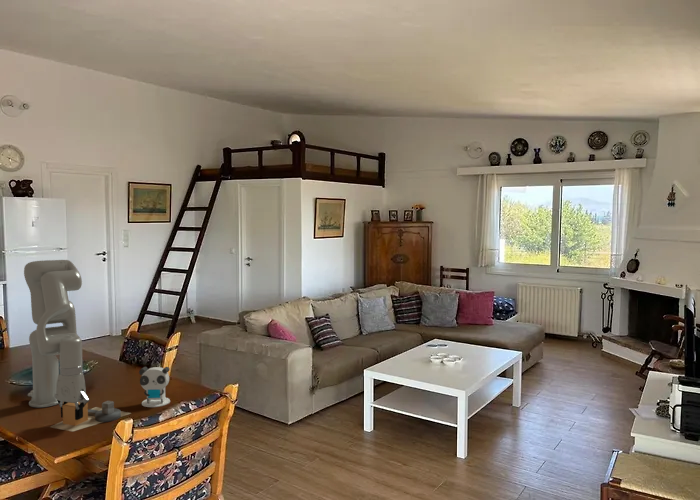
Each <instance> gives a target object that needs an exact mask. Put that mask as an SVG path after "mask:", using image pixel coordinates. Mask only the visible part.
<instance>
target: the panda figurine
mask: <svg viewBox="0 0 700 500" xmlns="http://www.w3.org/2000/svg"><path fill="white" fill-rule="evenodd" d="M169 372H170V367H169V366H166V367H160V366H159V367H158V366H157V367H156V366H154V367H150V368H148V367H147V366H143V367H142V368H140V369H139V371H138V374H139V375H140V376H141V377H140V379H139V384H140V386H141V387H142V389H144V391H143V393H144V395H145V396H146V399H144V400H143V401H142V402H141V406H143V407H145V408H146V407H147V408H159V407H163V406H166V405H169V404H170V403H171V400H170V399H171V398H169V397H166V387H167V386H168V385H169V382H170V376H169Z"/></svg>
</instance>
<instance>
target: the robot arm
mask: <svg viewBox="0 0 700 500" xmlns="http://www.w3.org/2000/svg"><path fill="white" fill-rule="evenodd" d="M23 275H24V279H25V282H26V285H27V288H29V289H28V290H29V292H30V293H29V294H30V305H31V306H30V307H31V318H32V321H33V323H34V324H35V325H36V329H35V330H33V331H32V332H30V334H29V337H28V342H29V346H30V351H31V359H32V362H31V364H32V365H31V366H32V390H30V392H28V393H27V396H28V397H31V399H30V400H29V402H28V405H29V407H31V408H48V407H52V406H56V405H59V407H60V418H62V419H63V408H62V405H65V404H67V403H75V406H76V410H75V420H79V419H81V418H83V407H84V406H85V405H86V403H87V402H88V403H89V402H90V398H89V397H88V395H87V393H86V392H87V391H86V381H85V376H84V373H83V341H82V339H81V337H80V335H79V334H77V320H76V319H77V318H76V309H75V305H74V304H73V302H72V301H71V300H70V299H69V294H68V292H71V291H72V292H73V291H78V290H80V289H81V288H82V285H83V283H82V282H83V281H82V275H81V273H80V271H79V270H78V268H77V267H76V265H74V263H73V262H72V261H71V260H69V259H49V260H48V259H47V260H35V261H34V260H33V261H29V262H28V263H26V264H25V265H24V269H23ZM54 324H62V325H58V326H49V327H47V325H54ZM58 355H59V359H58V357H57V356H58ZM78 402H80V405H79V403H78Z"/></svg>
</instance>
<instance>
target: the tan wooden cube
mask: <svg viewBox="0 0 700 500" xmlns="http://www.w3.org/2000/svg"><path fill="white" fill-rule="evenodd" d="M78 403H79V405H80V402H78ZM62 408H63V418H62V421H63V424H68V425H74V426H76V425H78V424H80V423H82V422H85V421H87V420H88V409H89V401H88V402H87V403H86V405H85V406H84V407H83V418H81V419H79V420H75V410H76V406H75V403H69V402H68V403H67V404H65V405H62Z"/></svg>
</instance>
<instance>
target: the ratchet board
mask: <svg viewBox="0 0 700 500" xmlns="http://www.w3.org/2000/svg"><path fill="white" fill-rule="evenodd" d="M130 414H132V413H131V412H128V411H127V412H126V411H121V409H119V408H115V401H113V400H106V401H104V402H102V403H101V407H98V406H95V407H93V408H88V420H87V421H85V422H82V423H80V424H78V425H76V426H74V425H68V424H63V420H62V421H59V422H58V423H55V424H54V425H51V426H49V428H53V429H56V430H57V429H58V430H63V431H69V432H76V431H79V430H83V429H85V428H89V427H92V426H96V425H98V424H102V423H108V422H113V421H117V420H118V419H120V418H122V417H125V416H128V415H130Z"/></svg>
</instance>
